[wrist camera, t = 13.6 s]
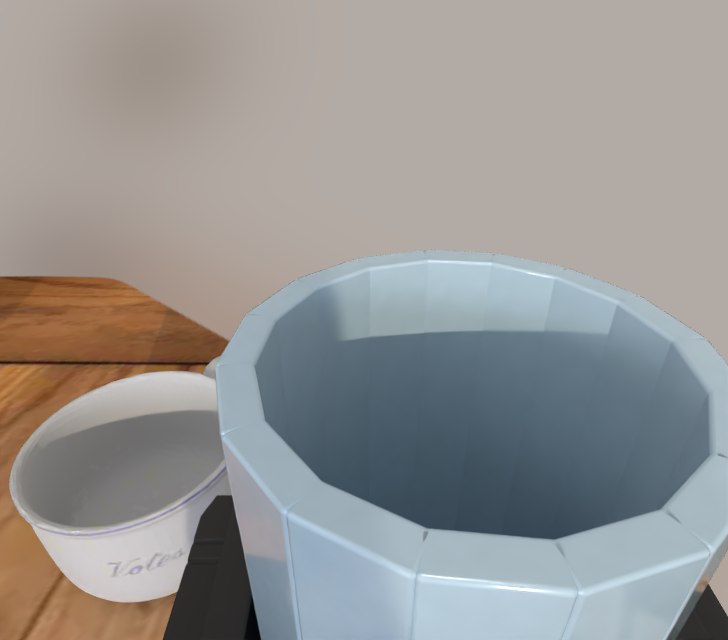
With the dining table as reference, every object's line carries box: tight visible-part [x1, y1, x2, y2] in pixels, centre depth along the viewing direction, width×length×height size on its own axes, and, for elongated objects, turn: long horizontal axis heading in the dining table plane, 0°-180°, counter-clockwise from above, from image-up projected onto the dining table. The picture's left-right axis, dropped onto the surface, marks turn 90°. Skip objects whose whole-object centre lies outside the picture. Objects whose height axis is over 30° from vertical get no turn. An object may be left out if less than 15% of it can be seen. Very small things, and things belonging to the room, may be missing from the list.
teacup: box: [9, 356, 232, 602], centre depth 29 cm, size 14×11×8 cm
